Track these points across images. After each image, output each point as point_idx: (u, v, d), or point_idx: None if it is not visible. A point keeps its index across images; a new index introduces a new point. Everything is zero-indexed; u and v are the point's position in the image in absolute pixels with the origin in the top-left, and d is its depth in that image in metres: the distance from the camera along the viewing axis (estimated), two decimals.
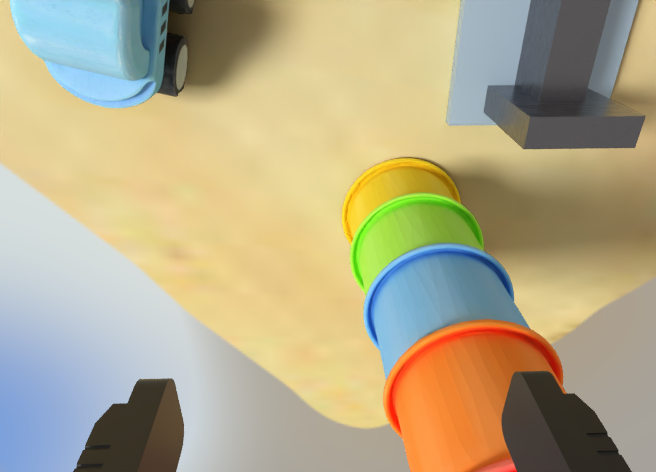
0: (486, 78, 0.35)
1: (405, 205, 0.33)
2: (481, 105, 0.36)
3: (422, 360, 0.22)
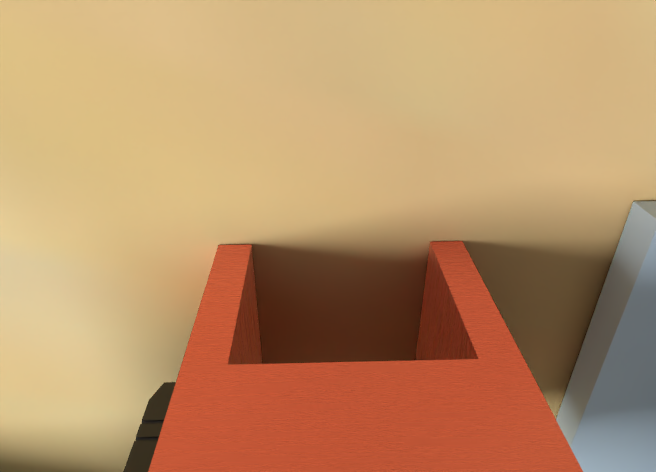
0: None
1: None
2: None
3: None
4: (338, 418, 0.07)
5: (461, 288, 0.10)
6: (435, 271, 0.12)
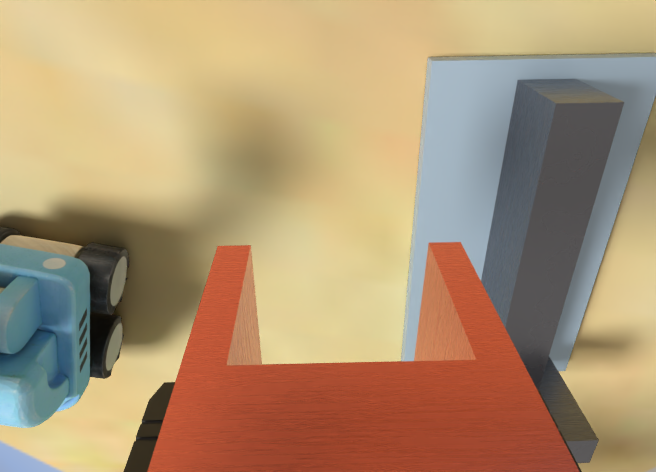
0: None
1: None
2: None
3: None
4: (336, 419, 0.07)
5: (459, 289, 0.10)
6: (433, 272, 0.12)
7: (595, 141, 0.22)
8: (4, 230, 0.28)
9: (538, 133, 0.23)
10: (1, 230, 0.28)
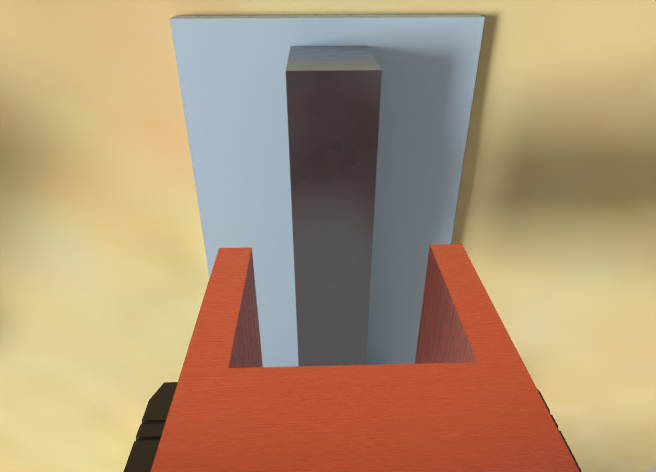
0: None
1: None
2: None
3: None
4: (338, 422, 0.07)
5: (460, 291, 0.10)
6: (435, 274, 0.12)
7: (354, 125, 0.16)
8: None
9: None
10: None
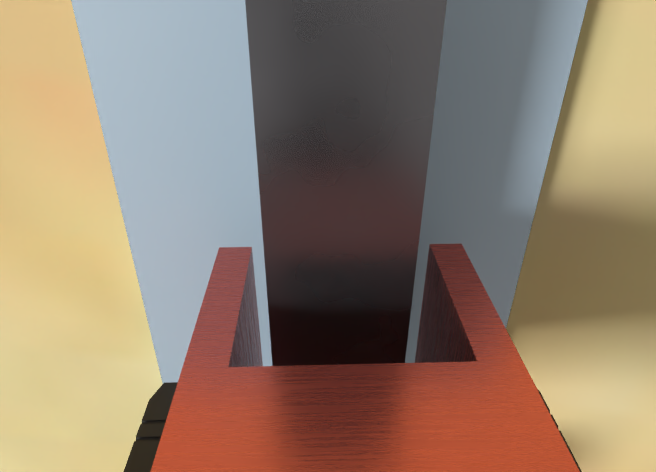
0: None
1: None
2: None
3: None
4: (338, 420, 0.07)
5: (460, 290, 0.10)
6: (434, 273, 0.12)
7: (388, 64, 0.08)
8: None
9: None
10: None
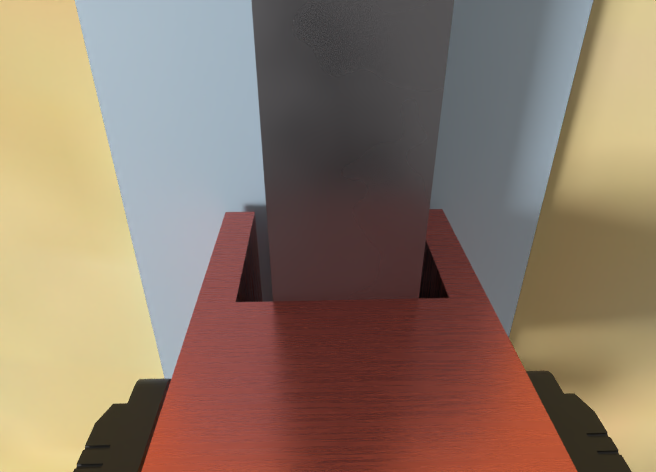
0: None
1: None
2: None
3: None
4: (328, 340, 0.09)
5: (438, 245, 0.12)
6: None
7: None
8: None
9: None
10: None
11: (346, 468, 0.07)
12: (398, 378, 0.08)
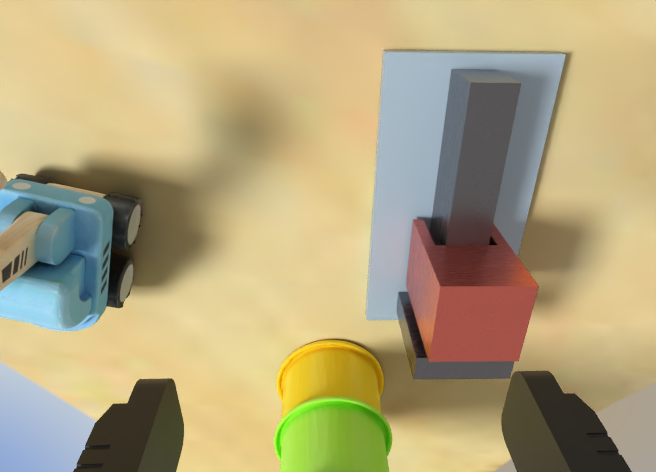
0: (396, 286, 0.41)
1: (319, 407, 0.38)
2: (394, 305, 0.41)
3: None
4: (466, 254, 0.33)
5: None
6: None
7: (502, 112, 0.29)
8: (44, 178, 0.35)
9: (461, 106, 0.30)
10: (42, 178, 0.34)
11: (480, 275, 0.30)
12: (487, 261, 0.32)
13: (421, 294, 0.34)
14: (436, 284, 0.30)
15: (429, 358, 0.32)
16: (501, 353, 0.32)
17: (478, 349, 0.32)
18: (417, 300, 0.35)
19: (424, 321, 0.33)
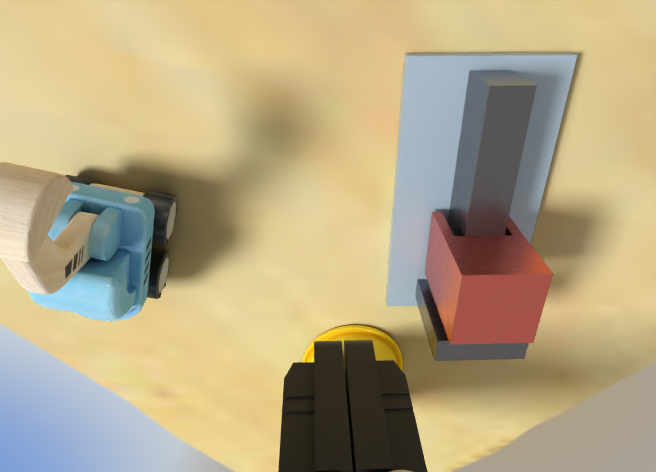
0: (415, 274, 0.43)
1: None
2: (413, 292, 0.44)
3: None
4: (484, 244, 0.35)
5: None
6: None
7: (518, 113, 0.31)
8: (87, 179, 0.37)
9: (480, 107, 0.32)
10: (86, 179, 0.37)
11: (498, 264, 0.33)
12: (504, 251, 0.34)
13: (441, 282, 0.37)
14: (457, 273, 0.32)
15: (450, 341, 0.34)
16: (517, 335, 0.34)
17: (496, 332, 0.34)
18: (437, 287, 0.38)
19: (445, 307, 0.36)
